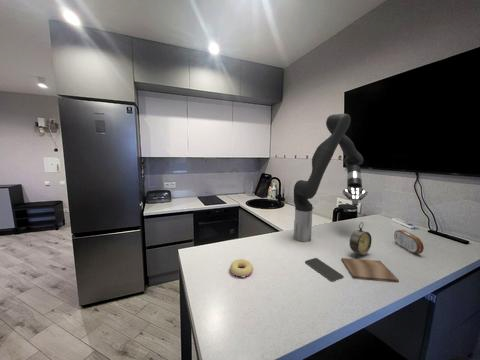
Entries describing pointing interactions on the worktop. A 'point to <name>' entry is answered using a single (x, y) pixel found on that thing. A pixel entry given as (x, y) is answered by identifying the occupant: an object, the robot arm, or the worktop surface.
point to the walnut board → (369, 270)
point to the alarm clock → (360, 241)
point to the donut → (241, 271)
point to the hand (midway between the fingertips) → (355, 205)
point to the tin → (408, 241)
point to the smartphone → (324, 269)
